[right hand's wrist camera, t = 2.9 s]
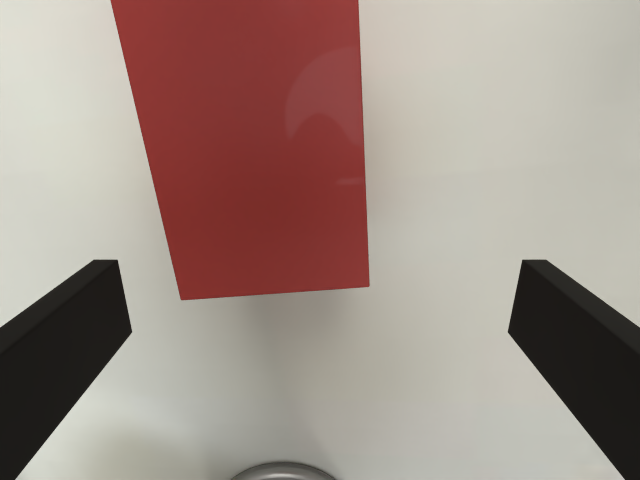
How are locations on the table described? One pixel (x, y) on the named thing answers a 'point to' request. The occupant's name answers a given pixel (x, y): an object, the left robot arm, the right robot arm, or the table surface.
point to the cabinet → (253, 140)
